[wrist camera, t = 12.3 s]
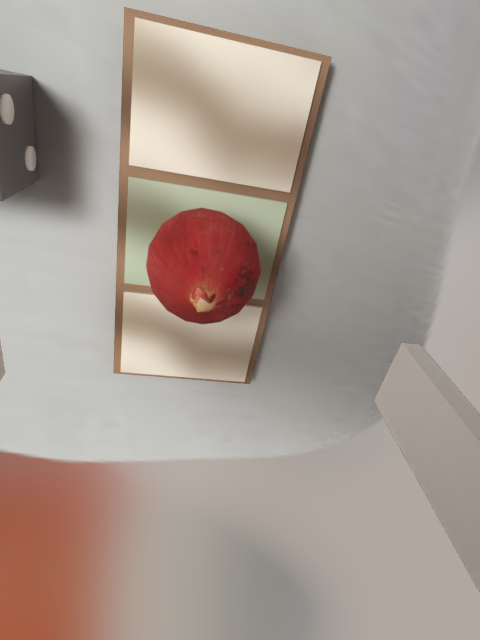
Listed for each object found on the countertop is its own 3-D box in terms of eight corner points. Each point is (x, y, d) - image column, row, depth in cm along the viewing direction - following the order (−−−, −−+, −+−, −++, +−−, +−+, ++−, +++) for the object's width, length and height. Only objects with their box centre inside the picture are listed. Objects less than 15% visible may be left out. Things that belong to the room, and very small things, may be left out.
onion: (261, 205, 23) (291, 257, 16) (238, 292, 25) (254, 368, 19) (160, 182, 21) (145, 227, 15) (147, 277, 24) (129, 352, 17)
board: (127, 10, 18) (123, 6, 17) (325, 58, 20) (332, 56, 19) (115, 364, 29) (113, 374, 28) (248, 375, 30) (250, 385, 29)
